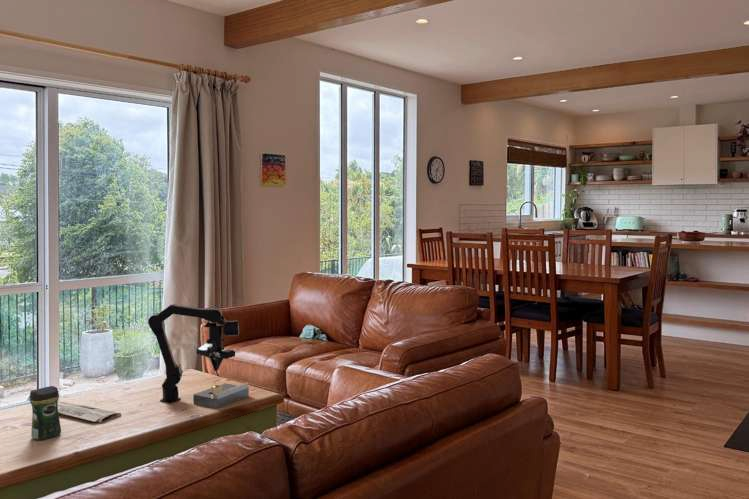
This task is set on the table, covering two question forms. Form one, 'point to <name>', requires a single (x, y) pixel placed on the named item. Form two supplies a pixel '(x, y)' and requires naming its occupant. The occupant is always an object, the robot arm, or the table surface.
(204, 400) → the block
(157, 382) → the table surface
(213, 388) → the bushing
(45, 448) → the table surface
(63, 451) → the table surface
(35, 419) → the coffee jar
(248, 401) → the table surface
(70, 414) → the newspaper
